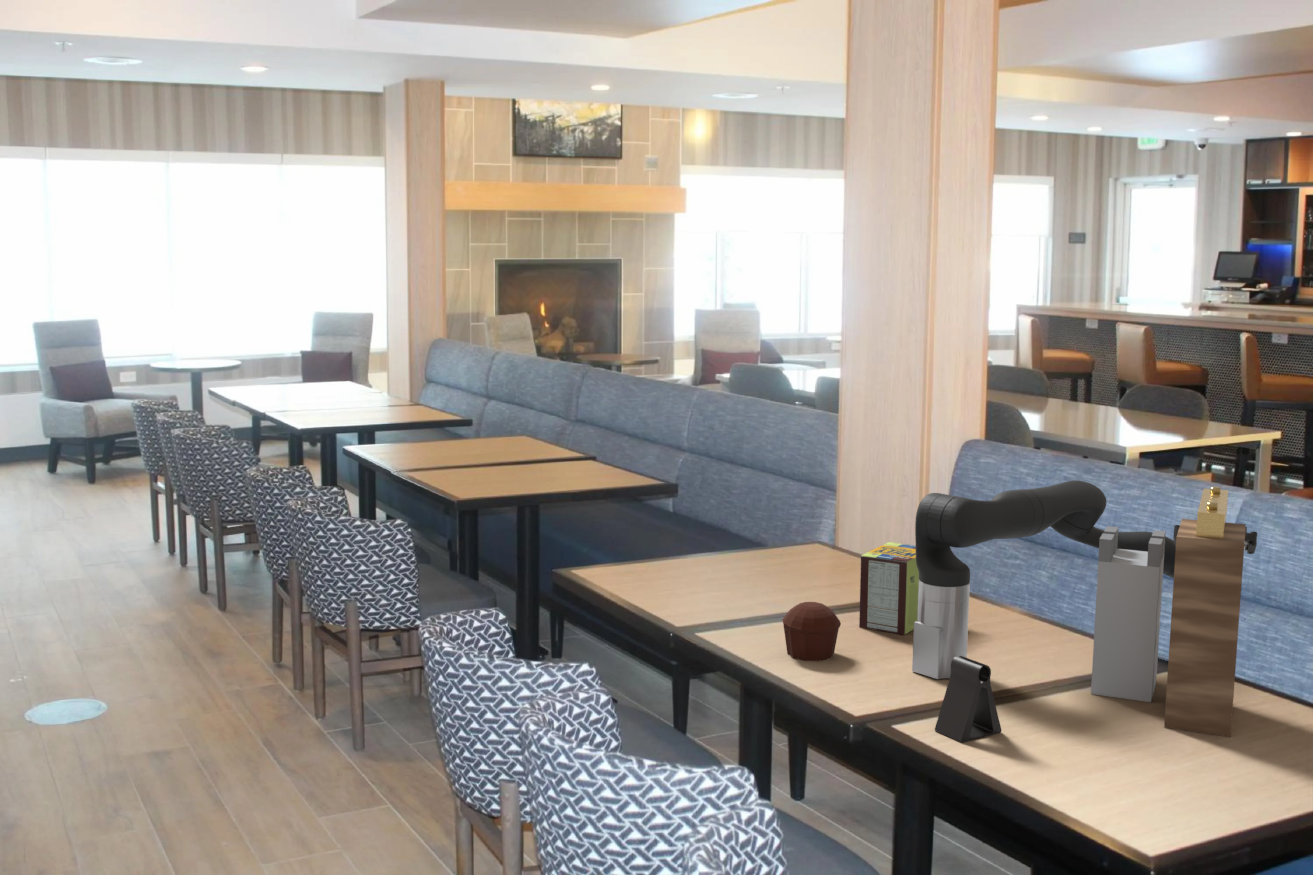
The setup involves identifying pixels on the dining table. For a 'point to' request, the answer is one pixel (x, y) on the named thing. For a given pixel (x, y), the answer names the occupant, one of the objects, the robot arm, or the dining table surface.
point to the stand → (1204, 629)
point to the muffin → (811, 631)
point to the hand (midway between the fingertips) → (1215, 526)
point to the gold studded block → (1212, 513)
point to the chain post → (1127, 618)
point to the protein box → (889, 588)
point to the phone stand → (968, 703)
